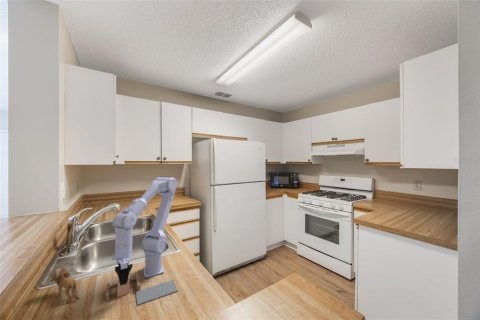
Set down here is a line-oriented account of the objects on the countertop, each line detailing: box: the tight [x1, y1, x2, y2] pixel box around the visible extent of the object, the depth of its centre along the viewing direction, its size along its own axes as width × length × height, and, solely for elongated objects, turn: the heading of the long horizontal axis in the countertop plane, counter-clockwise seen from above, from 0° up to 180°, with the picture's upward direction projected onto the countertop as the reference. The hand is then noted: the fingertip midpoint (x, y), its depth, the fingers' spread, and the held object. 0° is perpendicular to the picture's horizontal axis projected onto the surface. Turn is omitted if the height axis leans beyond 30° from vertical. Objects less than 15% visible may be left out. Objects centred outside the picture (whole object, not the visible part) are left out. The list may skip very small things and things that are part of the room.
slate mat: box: [135, 279, 178, 306], centre depth 74 cm, size 8×14×1 cm, turn 122°
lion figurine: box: [48, 267, 80, 304], centre depth 73 cm, size 15×5×9 cm, turn 70°
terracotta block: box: [117, 273, 131, 298], centre depth 74 cm, size 4×4×6 cm
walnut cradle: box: [105, 274, 141, 303], centre depth 76 cm, size 9×11×2 cm
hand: (123, 278), depth 74 cm, fingers open, 7 cm apart
